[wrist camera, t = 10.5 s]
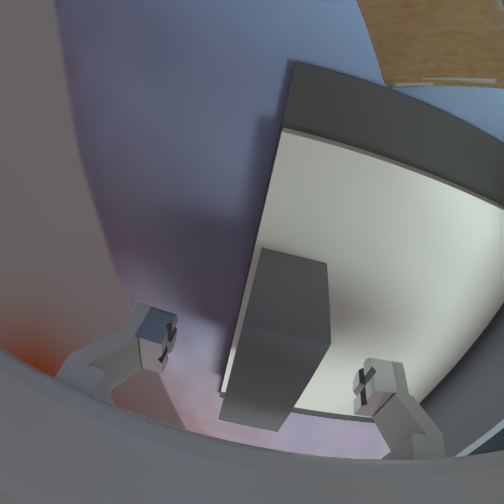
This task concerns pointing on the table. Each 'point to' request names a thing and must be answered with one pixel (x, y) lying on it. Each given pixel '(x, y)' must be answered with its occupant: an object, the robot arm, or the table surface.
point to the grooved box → (473, 396)
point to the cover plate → (358, 280)
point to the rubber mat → (389, 139)
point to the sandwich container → (437, 41)
